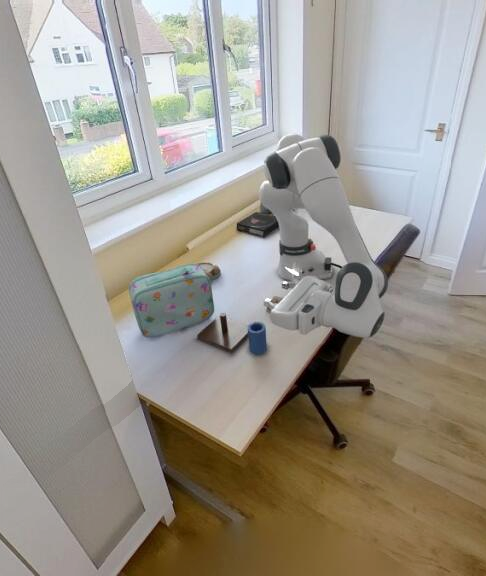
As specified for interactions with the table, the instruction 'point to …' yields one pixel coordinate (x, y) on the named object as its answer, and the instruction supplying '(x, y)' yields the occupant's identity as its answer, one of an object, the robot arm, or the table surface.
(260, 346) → the blue faceted hollow tube
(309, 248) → the robot arm
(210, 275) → the alarm clock
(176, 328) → the lunch box
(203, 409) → the table surface
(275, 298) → the toy character
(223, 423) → the table surface
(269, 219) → the portable cd player
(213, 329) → the platform
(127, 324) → the table surface
